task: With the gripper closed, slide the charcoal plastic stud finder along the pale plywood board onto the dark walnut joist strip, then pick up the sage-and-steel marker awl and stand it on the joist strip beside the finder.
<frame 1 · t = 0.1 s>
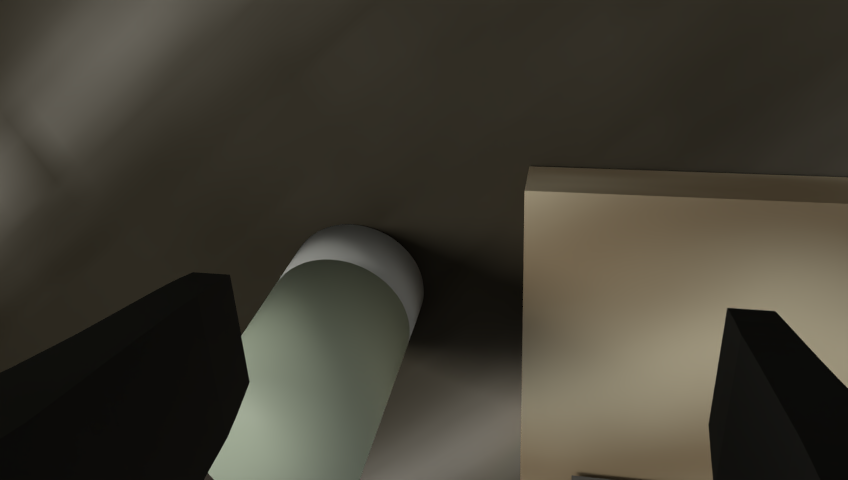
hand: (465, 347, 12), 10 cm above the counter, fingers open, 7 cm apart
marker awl: (357, 284, 24), on the counter
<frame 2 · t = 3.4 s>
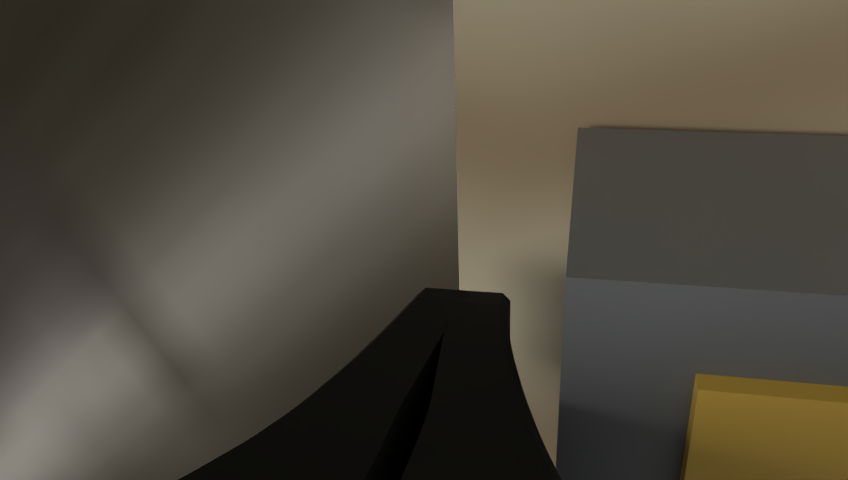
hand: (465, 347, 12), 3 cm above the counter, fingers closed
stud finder: (761, 416, 10), point 4 cm above the counter, slide at 0.2 cm, touching gripper
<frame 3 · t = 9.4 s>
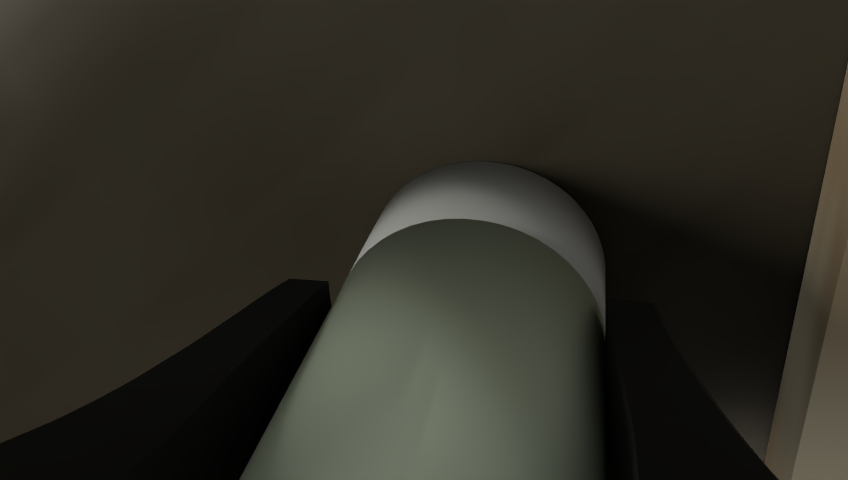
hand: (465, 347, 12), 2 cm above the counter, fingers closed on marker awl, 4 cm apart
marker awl: (484, 270, 14), on the counter, touching gripper
when the fingers open (5 cm above the counter, at t = 13.6 s): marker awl stays where it is, resting on subfloor board.
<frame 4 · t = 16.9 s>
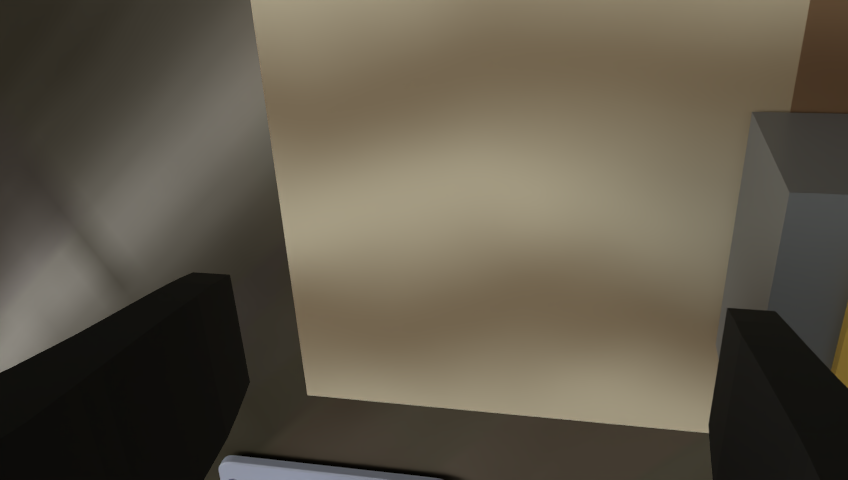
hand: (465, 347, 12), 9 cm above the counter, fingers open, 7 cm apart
subfloor board: (696, 85, 19), on the counter
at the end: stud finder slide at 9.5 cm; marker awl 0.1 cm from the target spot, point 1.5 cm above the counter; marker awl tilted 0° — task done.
